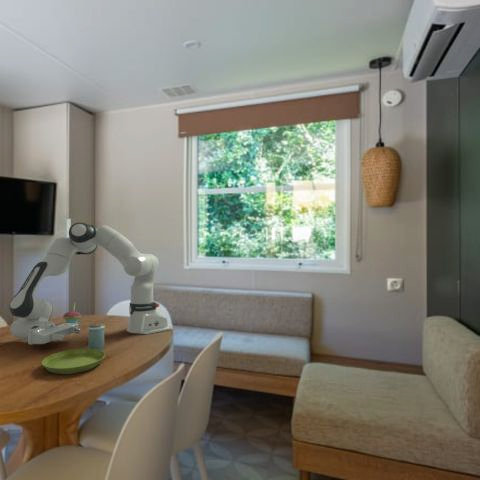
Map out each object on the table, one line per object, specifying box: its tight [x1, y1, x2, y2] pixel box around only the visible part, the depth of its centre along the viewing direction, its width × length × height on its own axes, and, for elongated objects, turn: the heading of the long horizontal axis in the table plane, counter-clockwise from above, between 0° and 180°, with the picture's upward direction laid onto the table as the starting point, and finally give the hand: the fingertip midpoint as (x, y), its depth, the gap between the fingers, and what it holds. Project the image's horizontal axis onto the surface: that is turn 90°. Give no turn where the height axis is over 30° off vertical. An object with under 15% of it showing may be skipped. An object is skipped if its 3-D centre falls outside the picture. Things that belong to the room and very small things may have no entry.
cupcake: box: [62, 302, 82, 324], centre depth 176 cm, size 9×8×12 cm
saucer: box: [41, 348, 106, 375], centre depth 118 cm, size 21×21×3 cm
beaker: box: [87, 323, 106, 352], centre depth 135 cm, size 6×6×10 cm
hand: (72, 334), depth 138 cm, fingers open, 8 cm apart
